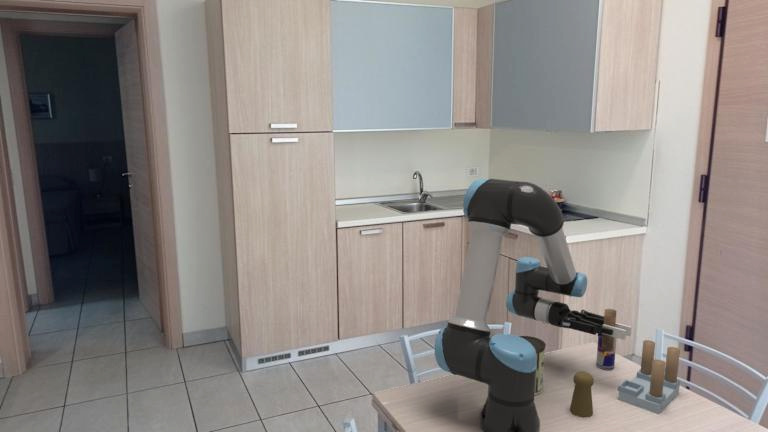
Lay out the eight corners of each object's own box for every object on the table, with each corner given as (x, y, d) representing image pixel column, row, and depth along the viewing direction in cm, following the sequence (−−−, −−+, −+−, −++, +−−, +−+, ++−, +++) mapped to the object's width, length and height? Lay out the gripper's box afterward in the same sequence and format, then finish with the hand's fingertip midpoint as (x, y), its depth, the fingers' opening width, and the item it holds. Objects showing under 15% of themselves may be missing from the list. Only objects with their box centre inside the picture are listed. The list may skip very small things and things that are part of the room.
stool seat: (617, 398, 161) (620, 354, 158) (638, 379, 172) (642, 338, 169) (658, 413, 153) (663, 367, 150) (678, 392, 164) (683, 349, 161)
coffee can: (505, 378, 173) (507, 334, 170) (540, 380, 172) (542, 336, 169) (508, 394, 163) (511, 349, 160) (545, 397, 162) (548, 350, 159)
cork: (594, 418, 151) (597, 380, 148) (571, 416, 152) (573, 378, 150) (591, 406, 156) (594, 369, 154) (568, 404, 158) (570, 367, 155)
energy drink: (596, 369, 179) (599, 333, 176) (595, 361, 184) (598, 327, 181) (614, 371, 177) (617, 335, 175) (613, 363, 182) (615, 328, 180)
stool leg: (599, 349, 167) (602, 310, 165) (604, 346, 169) (607, 308, 167) (610, 352, 165) (613, 313, 162) (614, 349, 167) (618, 310, 165)
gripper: (564, 317, 184) (637, 338, 168) (539, 330, 173) (615, 353, 157) (565, 295, 183) (640, 314, 167) (540, 307, 172) (617, 328, 155)
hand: (627, 333), depth 162 cm, fingers closed on stool leg, 3 cm apart
